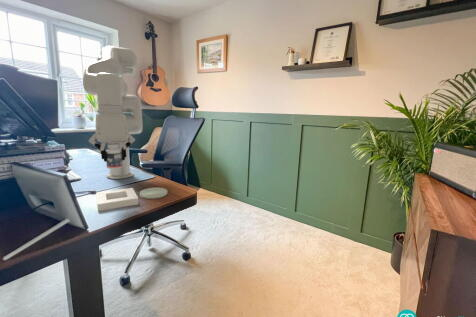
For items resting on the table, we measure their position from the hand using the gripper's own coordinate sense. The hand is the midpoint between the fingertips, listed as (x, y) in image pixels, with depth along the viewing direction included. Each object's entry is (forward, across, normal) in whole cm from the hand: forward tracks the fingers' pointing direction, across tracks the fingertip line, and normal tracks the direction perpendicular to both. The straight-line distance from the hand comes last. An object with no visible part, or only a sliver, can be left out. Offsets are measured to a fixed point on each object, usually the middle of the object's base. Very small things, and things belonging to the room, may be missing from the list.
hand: (114, 159), depth 85 cm
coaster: (+16, -14, -1) cm, 22 cm away
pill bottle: (+3, 0, 0) cm, 3 cm away
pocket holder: (+16, 0, +1) cm, 16 cm away
